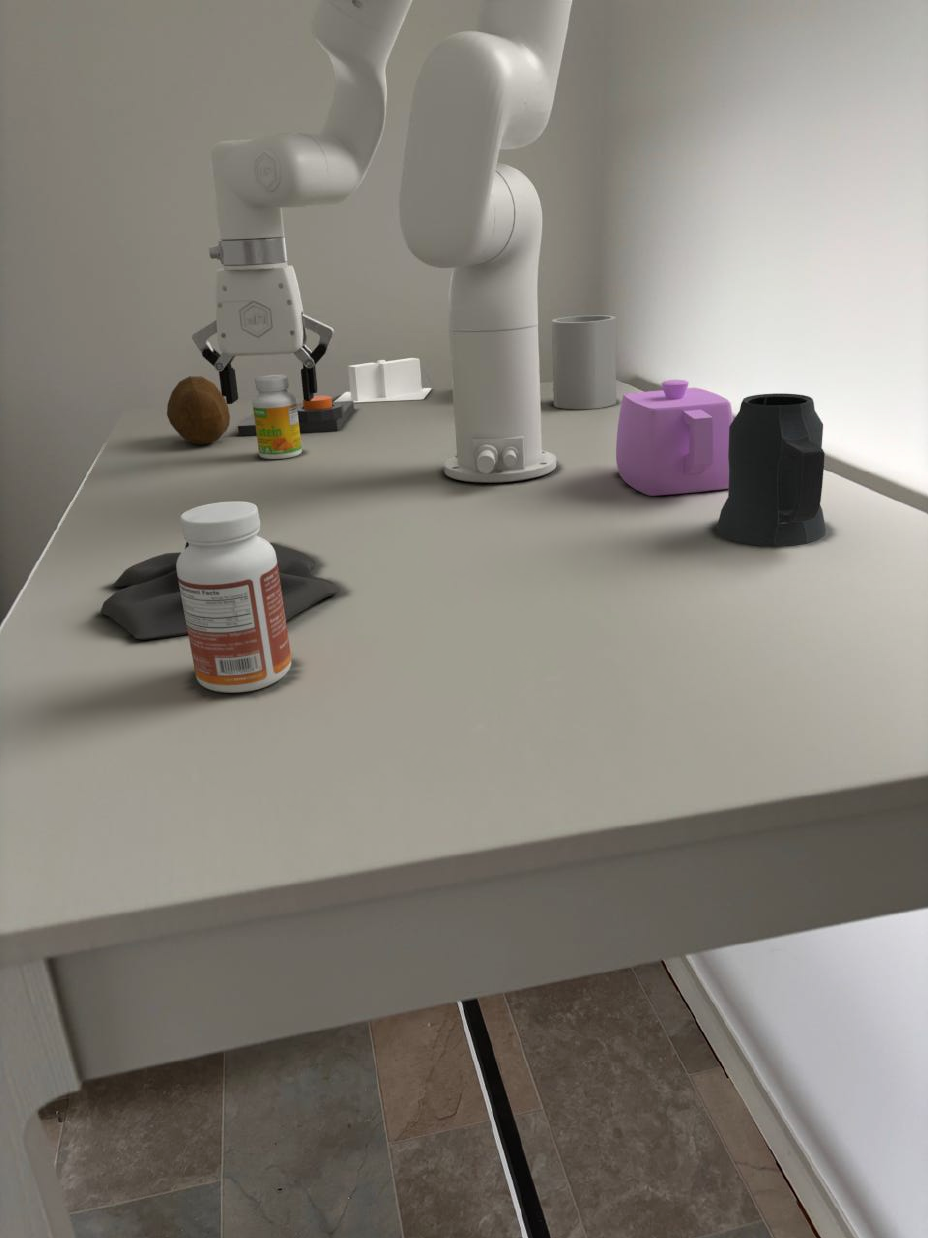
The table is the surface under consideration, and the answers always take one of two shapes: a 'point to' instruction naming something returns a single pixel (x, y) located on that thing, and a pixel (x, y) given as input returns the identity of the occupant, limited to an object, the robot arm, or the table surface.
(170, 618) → the cloth
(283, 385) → the supplement bottle
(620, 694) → the table surface
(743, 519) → the mug
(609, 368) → the cup
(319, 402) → the button
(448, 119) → the robot arm
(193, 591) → the pill bottle
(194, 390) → the potato
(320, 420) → the dark grey button base
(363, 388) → the napkin holder
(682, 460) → the teapot
